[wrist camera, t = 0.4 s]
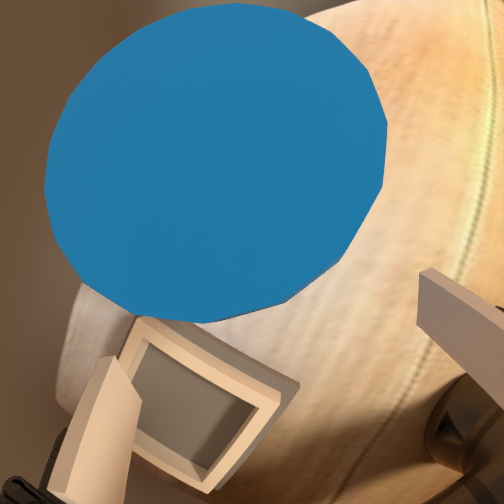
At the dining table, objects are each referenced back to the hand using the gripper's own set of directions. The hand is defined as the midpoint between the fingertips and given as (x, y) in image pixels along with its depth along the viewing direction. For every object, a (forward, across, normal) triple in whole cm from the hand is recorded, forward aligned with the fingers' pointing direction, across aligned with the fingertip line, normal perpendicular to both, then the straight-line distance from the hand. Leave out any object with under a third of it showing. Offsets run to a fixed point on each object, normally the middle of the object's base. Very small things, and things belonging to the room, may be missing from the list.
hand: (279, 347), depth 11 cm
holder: (+16, +12, +18) cm, 27 cm away
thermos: (+22, -2, +2) cm, 22 cm away
